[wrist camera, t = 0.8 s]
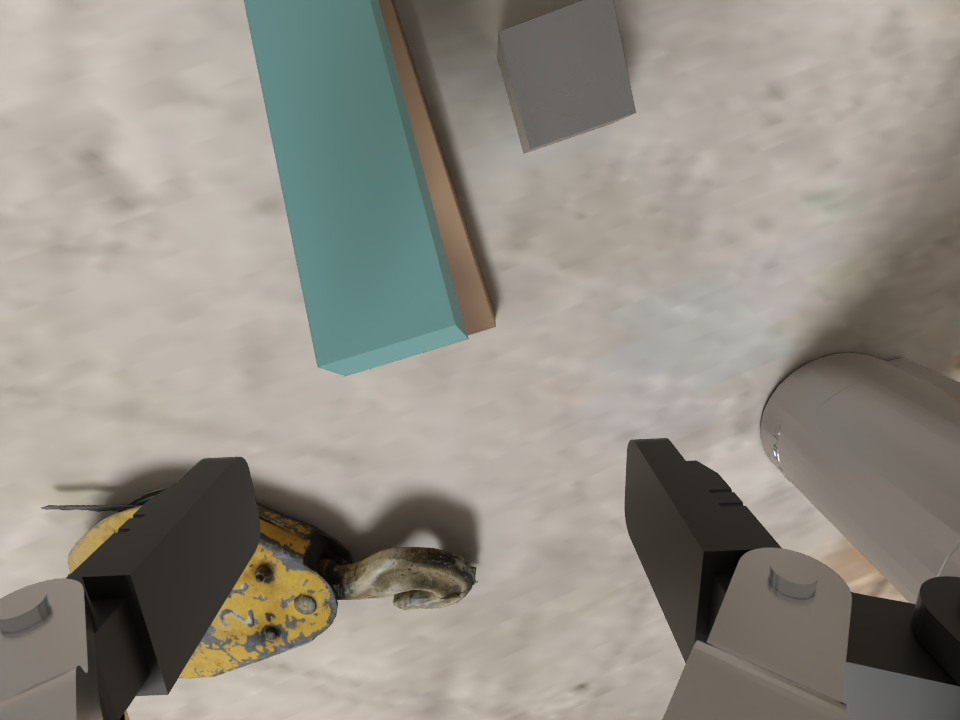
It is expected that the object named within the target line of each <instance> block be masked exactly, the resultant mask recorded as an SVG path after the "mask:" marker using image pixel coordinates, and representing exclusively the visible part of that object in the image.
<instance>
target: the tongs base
mask: <svg viewBox="0 0 960 720" xmlns="http://www.w3.org/2000/svg"><path fill="white" fill-rule="evenodd" d="M378 1H379V5H380V9H381V13H382V16H383V20H384V24H385V28H386V31H387V35H388V39H389V43H390V46H391V50H392V54H393V57H394V61H395V65H396V69H397V72H398V76H399V80H400V84H401V87H402V91H403V95H404V99H405V102H406V106H407V110H408V114H409V117H410V121H411V125H412V129H413V132H414V136H415V140H416V144H417V147H418V151H419V155H420V159H421V162H422V166H423V170H424V174H425V177H426V181H427V185H428V189H429V192H430V196H431V200H432V204H433V207H434V211H435V215H436V219H437V222H438V226H439V230H440V234H441V237H442V241H443V245H444V249H445V252H446V256H447V260H448V264H449V267H450V271H451V275H452V279H453V282H454V286H455V290H456V294H457V297H458V301H459V305H460V309H461V312H462V316H463V320H464V324H465V327H466V331H467V335H470V334H474V333H477V332H480V331H483V330H487V329H490V328H493V327H496V323H495V315H494V312H493V309H492V306H491V303H490V300H489V297H488V294H487V290H486V287H485V284H484V281H483V278H482V275H481V272H480V269H479V265H478V262H477V259H476V256H475V253H474V250H473V247H472V244H471V241H470V237H469V234H468V231H467V228H466V225H465V222H464V219H463V216H462V213H461V209H460V206H459V203H458V200H457V197H456V194H455V191H454V188H453V185H452V181H451V178H450V175H449V172H448V169H447V166H446V163H445V160H444V156H443V153H442V150H441V147H440V144H439V141H438V138H437V135H436V132H435V128H434V125H433V122H432V119H431V116H430V113H429V110H428V107H427V104H426V100H425V97H424V94H423V91H422V88H421V85H420V82H419V79H418V75H417V72H416V69H415V66H414V63H413V60H412V57H411V54H410V51H409V47H408V44H407V41H406V38H405V35H404V32H403V29H402V26H401V23H400V19H399V16H398V13H397V10H396V7H395V4H394V1H393V0H378Z"/></svg>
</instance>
